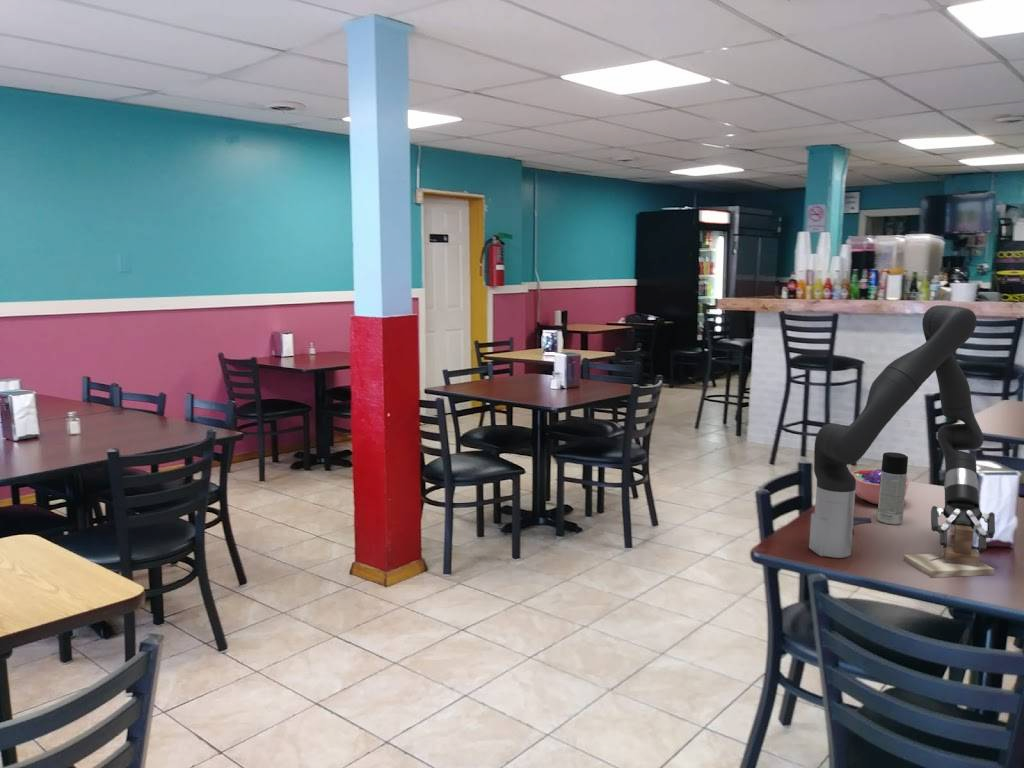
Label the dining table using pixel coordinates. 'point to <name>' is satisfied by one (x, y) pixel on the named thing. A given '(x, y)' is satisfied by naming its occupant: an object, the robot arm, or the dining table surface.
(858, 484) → the cell model
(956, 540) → the brown wooden stepped block
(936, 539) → the dining table surface
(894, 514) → the spray can
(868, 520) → the bracket
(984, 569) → the board
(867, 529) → the dining table surface
